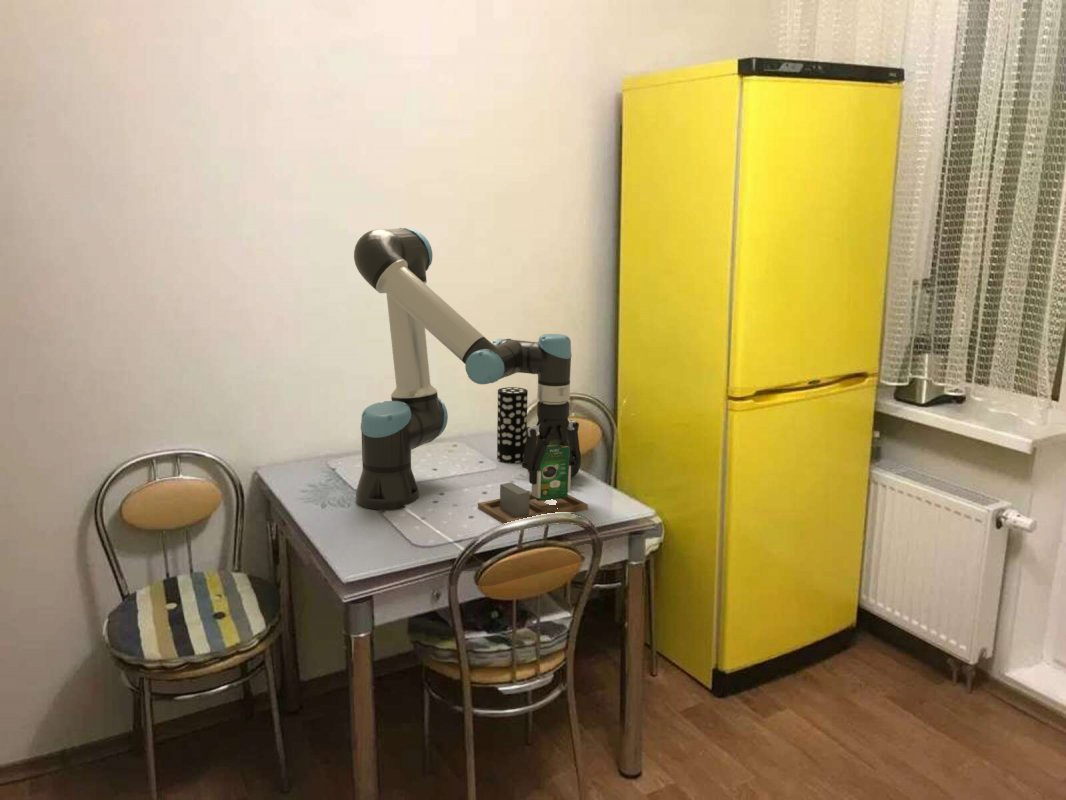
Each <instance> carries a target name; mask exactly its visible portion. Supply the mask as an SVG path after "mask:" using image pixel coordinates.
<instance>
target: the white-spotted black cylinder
mask: <svg viewBox="0 0 1066 800" xmlns="http://www.w3.org/2000/svg"><path fill="white" fill-rule="evenodd" d="M528 391H529V390H528V389H526V388H523V387H517V386H516V387H515V386H514V387H513V386H510V387H508V386H507V387H501V388H499V389H497V423H496V424H497V435H496V436H497V438H496V441H497V443H496V445H497V446H496V448H497V449H496V460H497V461H498V462H501V463H503V464H520V463H523V457H524V451H525V445H526V439H527V435H526V428H527V427H528V394H529V393H528Z"/></svg>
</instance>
